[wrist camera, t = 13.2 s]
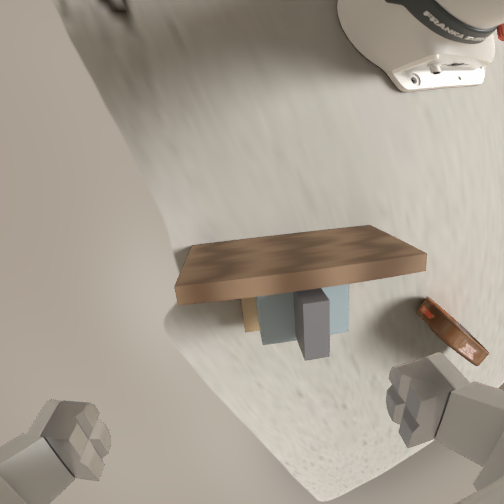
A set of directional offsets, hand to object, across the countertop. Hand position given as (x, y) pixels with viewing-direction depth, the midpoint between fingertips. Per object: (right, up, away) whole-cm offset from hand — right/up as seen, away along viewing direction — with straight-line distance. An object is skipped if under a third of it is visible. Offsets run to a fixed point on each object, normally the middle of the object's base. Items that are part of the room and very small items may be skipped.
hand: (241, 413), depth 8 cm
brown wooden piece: (+4, +1, +28) cm, 29 cm away
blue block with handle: (+4, +1, +25) cm, 26 cm away
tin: (+27, -6, +32) cm, 43 cm away
